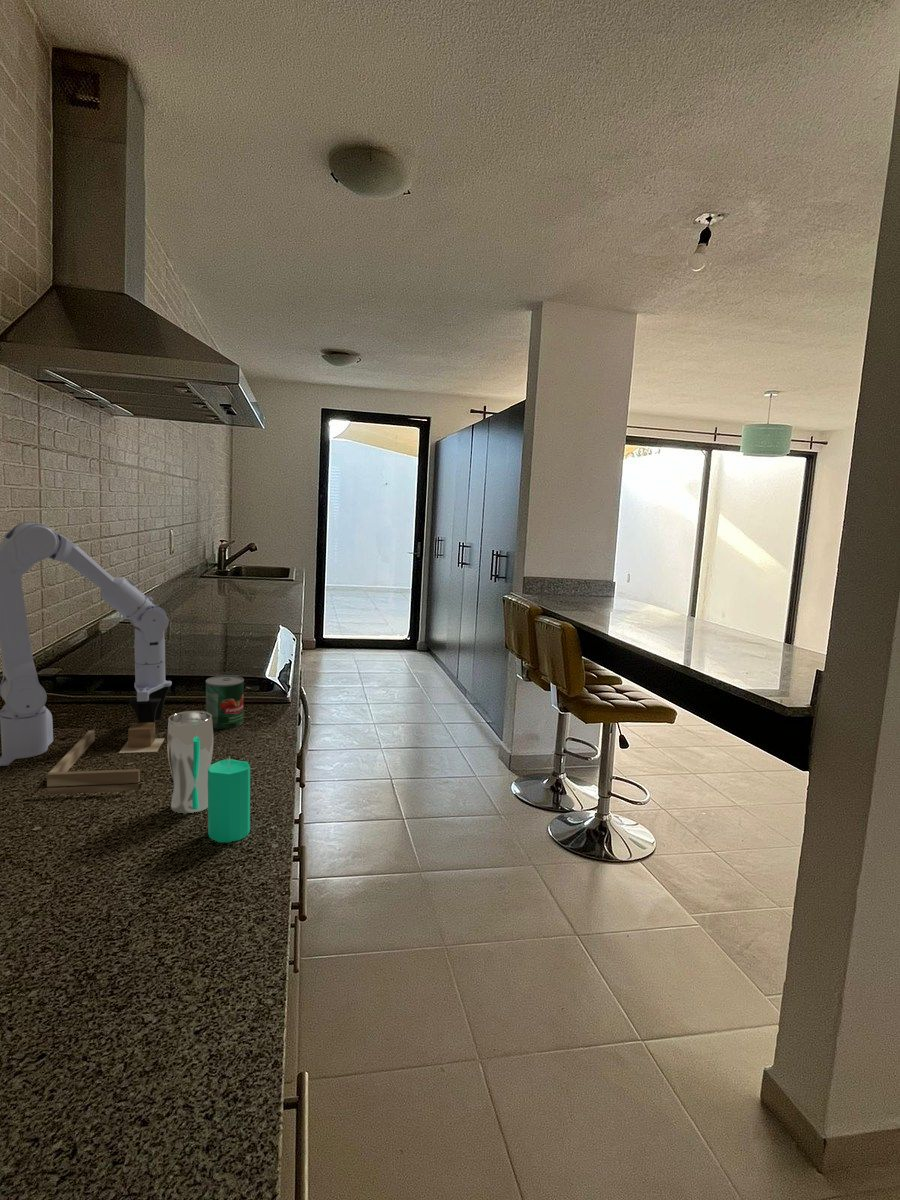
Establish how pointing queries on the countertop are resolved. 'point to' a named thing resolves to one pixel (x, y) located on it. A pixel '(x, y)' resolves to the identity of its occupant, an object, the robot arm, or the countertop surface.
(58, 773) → the wooden flat frame
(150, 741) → the block
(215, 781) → the candle
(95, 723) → the countertop surface
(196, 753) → the beer glass
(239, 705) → the canned tomato
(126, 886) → the countertop surface
